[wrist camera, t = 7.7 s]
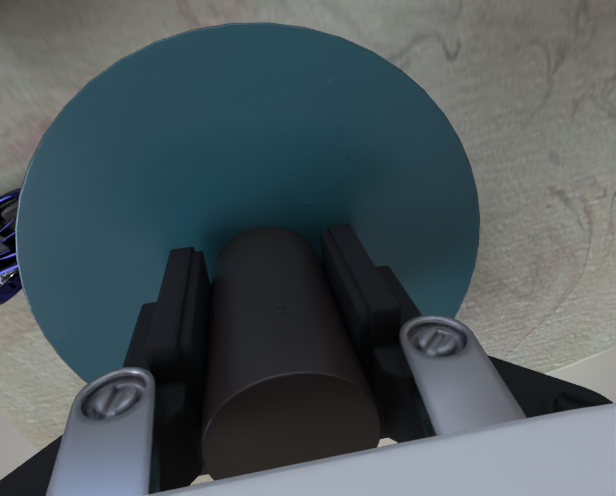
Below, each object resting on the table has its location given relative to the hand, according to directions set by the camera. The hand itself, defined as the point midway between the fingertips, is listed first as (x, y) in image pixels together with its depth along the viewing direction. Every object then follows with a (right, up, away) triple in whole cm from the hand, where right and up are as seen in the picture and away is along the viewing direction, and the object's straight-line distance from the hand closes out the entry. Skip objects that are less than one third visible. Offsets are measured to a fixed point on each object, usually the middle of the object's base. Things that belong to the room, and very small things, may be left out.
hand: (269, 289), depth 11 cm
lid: (0, 0, +1) cm, 1 cm away
